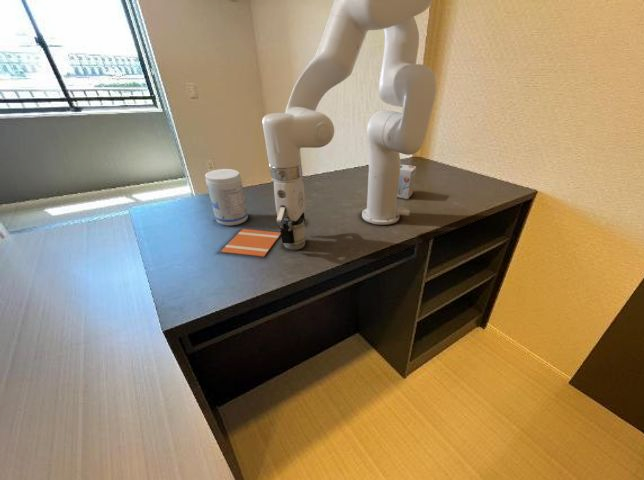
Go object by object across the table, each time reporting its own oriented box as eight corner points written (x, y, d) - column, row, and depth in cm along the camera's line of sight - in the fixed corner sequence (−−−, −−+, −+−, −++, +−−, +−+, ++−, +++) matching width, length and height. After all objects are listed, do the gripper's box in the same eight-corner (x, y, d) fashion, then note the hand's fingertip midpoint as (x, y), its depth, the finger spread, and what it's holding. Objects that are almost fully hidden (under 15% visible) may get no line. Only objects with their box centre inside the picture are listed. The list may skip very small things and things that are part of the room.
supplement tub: (210, 219, 94) (197, 173, 85) (238, 210, 100) (228, 166, 91) (227, 230, 89) (215, 181, 80) (254, 219, 95) (246, 173, 86)
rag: (281, 233, 88) (281, 232, 88) (264, 257, 78) (264, 255, 78) (243, 229, 89) (242, 228, 89) (220, 252, 79) (220, 251, 79)
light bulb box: (382, 194, 116) (384, 166, 110) (387, 189, 121) (389, 162, 115) (408, 199, 113) (412, 171, 107) (413, 193, 118) (416, 166, 112)
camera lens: (285, 252, 80) (282, 225, 76) (281, 241, 85) (278, 215, 80) (308, 248, 82) (306, 222, 78) (303, 237, 87) (301, 212, 82)
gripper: (289, 185, 64) (298, 251, 75) (311, 161, 78) (315, 220, 88) (256, 182, 65) (269, 249, 75) (283, 160, 79) (291, 218, 89)
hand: (294, 233), depth 82 cm, fingers open, 9 cm apart
